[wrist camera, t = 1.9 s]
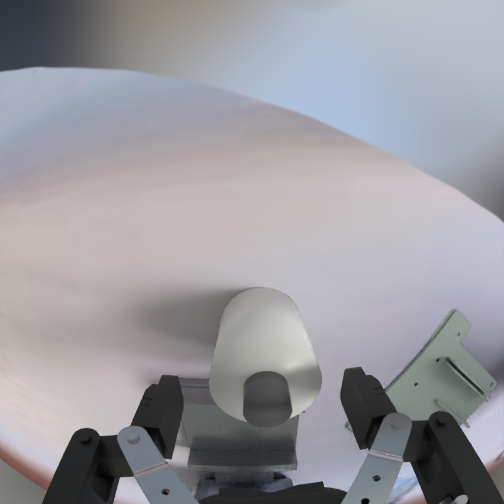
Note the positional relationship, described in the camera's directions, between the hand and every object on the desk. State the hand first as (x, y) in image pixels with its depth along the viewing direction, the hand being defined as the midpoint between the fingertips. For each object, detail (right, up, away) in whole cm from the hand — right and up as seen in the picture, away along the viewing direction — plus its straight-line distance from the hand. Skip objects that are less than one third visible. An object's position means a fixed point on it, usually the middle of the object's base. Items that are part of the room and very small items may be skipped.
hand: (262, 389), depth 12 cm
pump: (0, +1, +7) cm, 7 cm away
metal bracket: (+18, -8, +10) cm, 22 cm away
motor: (-2, -14, +11) cm, 18 cm away
